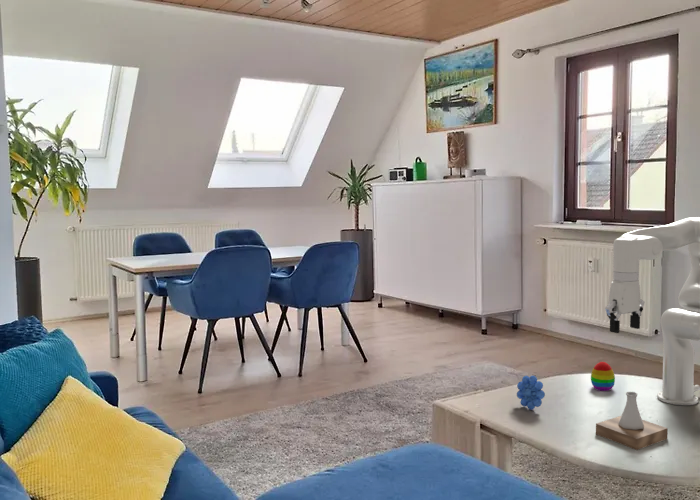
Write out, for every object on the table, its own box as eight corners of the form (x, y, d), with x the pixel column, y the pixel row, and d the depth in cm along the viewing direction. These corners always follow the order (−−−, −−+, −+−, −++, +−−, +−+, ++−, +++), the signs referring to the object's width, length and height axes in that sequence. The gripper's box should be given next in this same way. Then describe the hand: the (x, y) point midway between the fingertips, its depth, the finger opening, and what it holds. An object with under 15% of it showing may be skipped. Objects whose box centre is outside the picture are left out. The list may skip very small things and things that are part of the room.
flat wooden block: (625, 426, 204) (626, 414, 203) (667, 441, 192) (667, 428, 191) (595, 436, 197) (595, 423, 196) (636, 452, 185) (637, 438, 184)
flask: (647, 431, 189) (648, 397, 188) (621, 430, 191) (622, 397, 189) (640, 421, 197) (641, 389, 195) (615, 421, 198) (615, 389, 196)
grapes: (553, 411, 216) (553, 376, 215) (538, 416, 212) (539, 380, 211) (526, 402, 226) (526, 368, 225) (512, 406, 222) (512, 371, 221)
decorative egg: (598, 383, 243) (598, 357, 242) (619, 388, 237) (619, 361, 236) (586, 388, 238) (586, 362, 237) (607, 393, 232) (607, 366, 231)
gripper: (633, 273, 213) (632, 324, 215) (597, 278, 204) (596, 331, 206) (654, 275, 206) (652, 328, 208) (617, 281, 198) (616, 336, 200)
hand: (624, 330), depth 207 cm, fingers open, 9 cm apart
